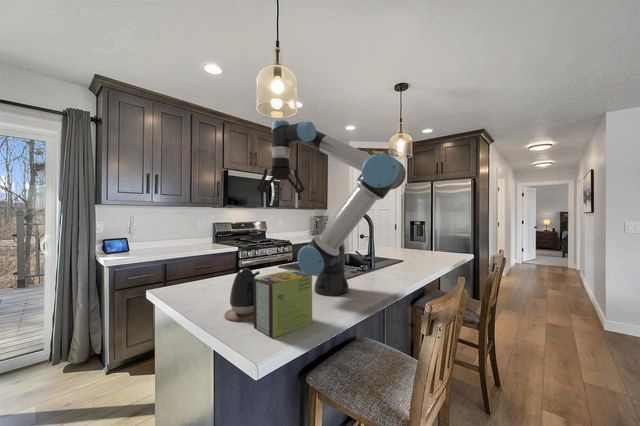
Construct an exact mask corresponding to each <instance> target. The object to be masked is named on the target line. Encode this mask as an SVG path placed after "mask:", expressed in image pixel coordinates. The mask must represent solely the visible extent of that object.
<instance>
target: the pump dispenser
mask: <svg viewBox="0 0 640 426" xmlns="http://www.w3.org/2000/svg"><path fill="white" fill-rule="evenodd" d="M260 274H261V272H260V271H259V270H257V271H254V272H253V271H252V270H251V269H250V268H247V267H244V268H241V269H240V270H238V271H237V273H236V275H235V277H234V279H233V283H232V286H231V288H230V295H229V304H230V307H231V309H233V311H234V312H235V313H237V314H240V315H248V314H251V313H253V312H254V284H253V278H255V277H256V276H258V275H260Z"/></svg>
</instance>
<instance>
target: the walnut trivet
mask: <svg viewBox="0 0 640 426" xmlns="http://www.w3.org/2000/svg"><path fill="white" fill-rule="evenodd" d="M224 319H225V320H227V321H230V322H236V323H237V322H238V323H242V322H243V323H244V322H250V321H254V312H253V313H251V314H248V315H240V314H237V313H235V312H234V311H233V309H232V308H231V309H228V310H227V311H225V313H224Z"/></svg>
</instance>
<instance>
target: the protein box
mask: <svg viewBox="0 0 640 426" xmlns="http://www.w3.org/2000/svg"><path fill="white" fill-rule="evenodd" d="M253 284H254V320H253V328H254V329H255V330H257V331H258V332H260V333H262V334H264V335H266V336H267V337H268V338H271V339H275V338H278V337H281V336H283V335H286V334H288V333H290V332H294V331H296V330H299V329H301V328H303V327H305V326H309V325H312V323H313V275H311V274H306V273H304V272H303V271H302V272H301V271H298V270H293V269H289V270H285V271H281V272H275V273H274V272H273V273H270V274H265V275H260V276H257V277H256V276H255V278H253Z"/></svg>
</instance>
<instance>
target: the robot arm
mask: <svg viewBox="0 0 640 426" xmlns="http://www.w3.org/2000/svg"><path fill="white" fill-rule="evenodd" d="M296 143H300V144H302V145H305V146H307V147H310V148H312V149H315V150H317V151H319V152H321V153H324V154H325V155H327V156H329V157H332V158H333V159H335V160H337V161H339V162H341V163H344V164H346V165H348V166H350V167H351V168H354V169H355V170H358V171H360V172H361V173H360V175H359V177H358V178H357V179H356V183H357V184H356V185H357V186H356V187H355V189H354V190H353V191H352V193H351V194H350V195H349V197H348V198H347V199H346V201H345V202H344V203H343V205H342V206H341V207H340V209H339V210H338V211H337V212H336V214H335V215H334V216H333V218H332V219H331V221H330V222H329V223H328V224H327V226H326V227H325V228H324V230H323V231H322V233H321V234H320V233H319V234H315V235H314V237H313V238H312V239H311V241H310V242H309V243H308V244H307V245H304V246H302V247H301V248H300V249H299V250H298V253H297V259H296V260H297V264H298V267H299V269H300V270H301V271H302V273H306V274H311V275H312V276H317V277H316V280H315V283H314V285H313V286H314V290H313V291H314V292H315V293H316V294H318V295H322V296H333V297H334V296H343V295H345V294H348V293H349V289H350V288H349V283H348V280H347V277H346V274H345V273H346V272H345V271H346V270H345V263H346V262H345V261H346V258H345V257H346V255H345V251H346V250H345V249H346V246H345V240H346V239H347V238H348V237H349V236H350V234H351V233H352V232H353V231H354V229H355V228H356V227H357V226H358V224H359V223H360V222H361V220H362V219H363V218H364V217H365V216H366V214H367V213H368V212H369V210H370V209H371V208H372V207H373V205H375V203H376V201H378V200H383V199H385V197H386V196H387V195H388V193H389V192H390V191H391V190H392V191H393V190H395V189H398V188H399V187H400V186H401V185H402V184H403V183H404V182H405V179H406V176H407V175H406V174H407V173H406V169H405V166H404V165H403V163H402V162H401V161H399V160H398V159H396V158H395V157H394V156H392V155H390V154H387V153H383V152H379V153H375V154H369V153H367V152H365V151H363V150H360V149H359V148H356V147H354V146H352V145H349V144H347V143H345V142H343V141H341V140H339V139H336V138H334V137H332V136H330V135H327V134H326V133H323V132H321V131H319V130H317V129H316V126H315V124H314V123H313V122H311V121H300V122H297V123H294V124H290V123H289V121H287V120H281V119H280V120H279V119H278V120H274V121H273V122H272V124H271V158H272V159H271V170H270V169H267V168H265V169H264V172H263V175H262V177H261V179H260V181H259V183H258V185H257V187H256V191H257V192H260V200H261V201H263V208H264V209H266V208H267V207H266V206H267V196H266V195H267V194H266V190H267V189H268V188H269V187H270V186H271V185H272V184H273V182H274V181H275V180H276V181H287V182H288V183H289V185H291V187H293V189H294V190H295V191H296V192H295V208H296V209H298V208H299V201H301V193H302V192H304V191H305V187H304V185H303V184H302V183H303V182H302V181H301V179H300V177H299V175H298V170H297V169H293V170H291V168H290V144H296ZM269 174H271V176H272V177H270V179H269V181H267V183H266V184H265V185H264V182H265V180H266V178H267V176H269ZM290 174H292V176H294V179H295V181H296V183H297V184H298V186H297V185H296V183H295V182H294V181H293V179H292V178H291V177H290ZM263 185H264V186H263Z"/></svg>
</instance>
